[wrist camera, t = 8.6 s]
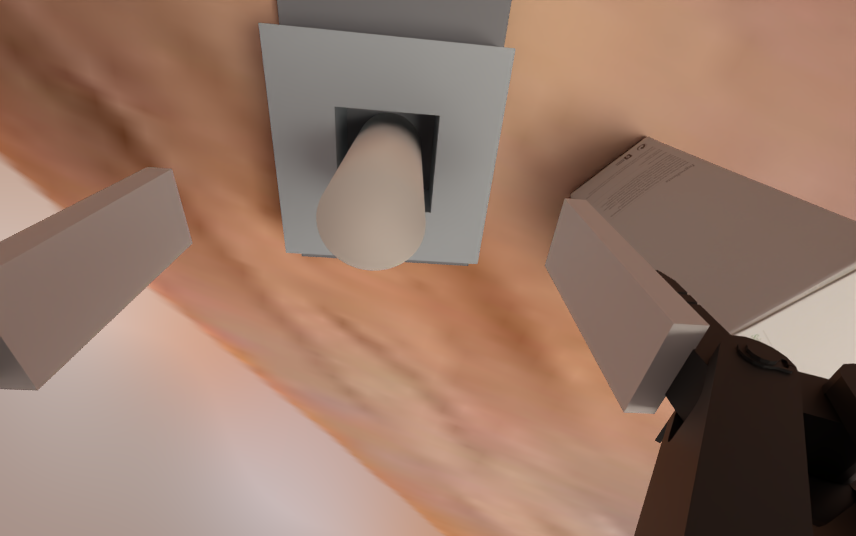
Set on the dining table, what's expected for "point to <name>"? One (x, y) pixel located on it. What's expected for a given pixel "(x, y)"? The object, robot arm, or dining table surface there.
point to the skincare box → (738, 250)
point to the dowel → (376, 197)
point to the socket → (389, 105)
